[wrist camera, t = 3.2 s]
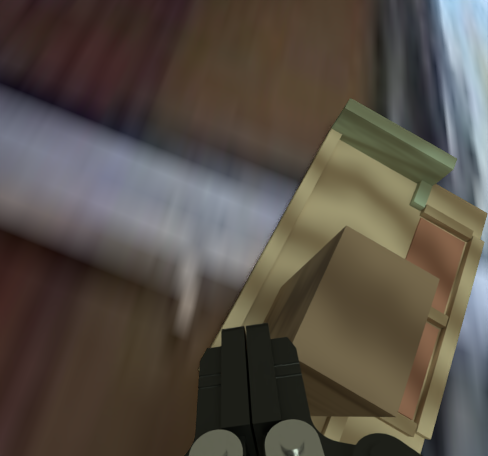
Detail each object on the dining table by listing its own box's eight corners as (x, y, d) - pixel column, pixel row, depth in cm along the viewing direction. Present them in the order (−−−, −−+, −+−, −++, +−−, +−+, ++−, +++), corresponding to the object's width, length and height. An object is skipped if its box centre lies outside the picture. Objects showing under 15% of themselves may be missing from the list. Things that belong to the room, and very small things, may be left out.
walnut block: (305, 416, 32) (396, 417, 21) (236, 375, 33) (287, 353, 21) (343, 323, 36) (439, 279, 24) (281, 286, 36) (346, 225, 24)
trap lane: (402, 490, 33) (443, 502, 28) (197, 370, 33) (205, 363, 29) (480, 215, 45) (518, 193, 40) (329, 129, 45) (350, 98, 40)
